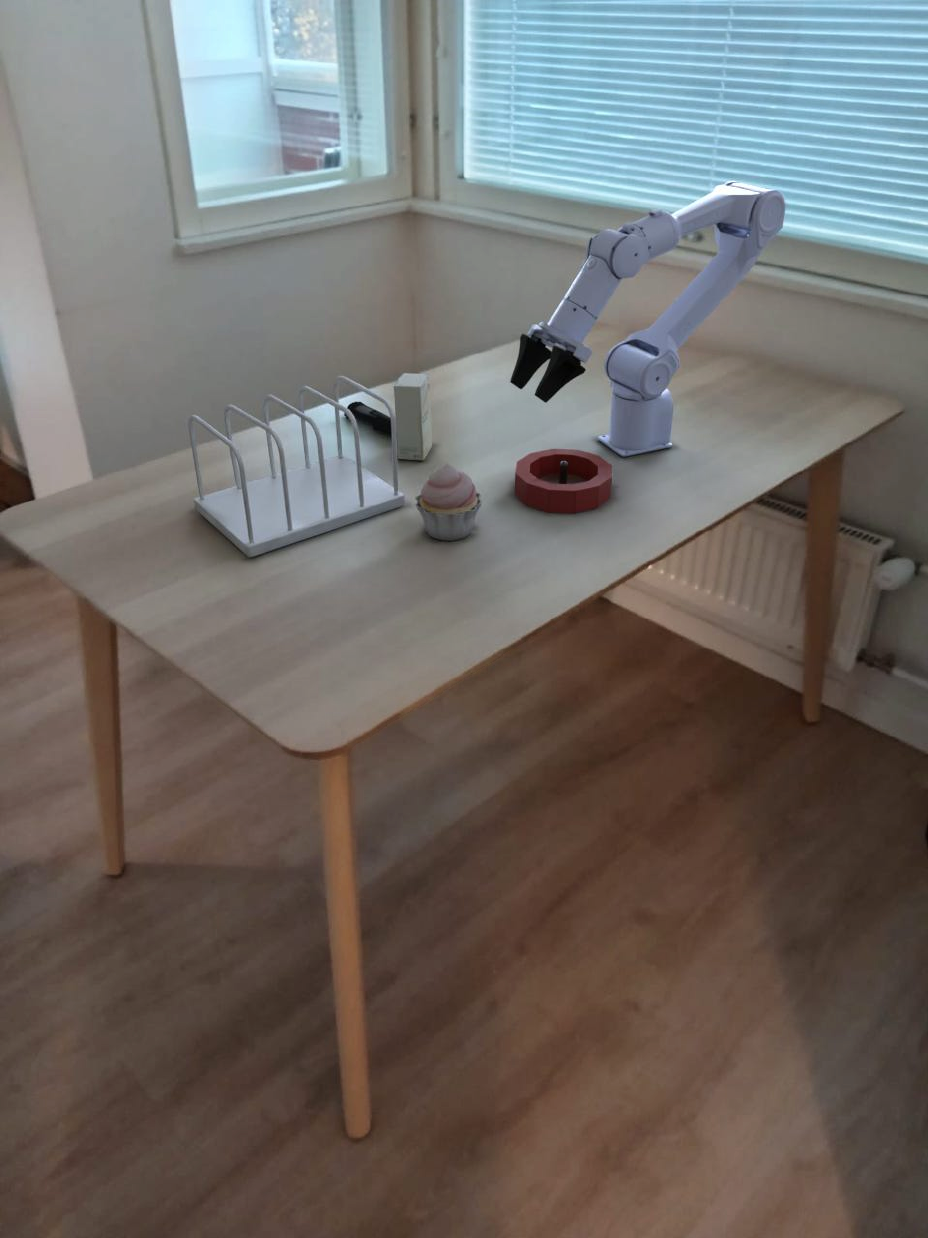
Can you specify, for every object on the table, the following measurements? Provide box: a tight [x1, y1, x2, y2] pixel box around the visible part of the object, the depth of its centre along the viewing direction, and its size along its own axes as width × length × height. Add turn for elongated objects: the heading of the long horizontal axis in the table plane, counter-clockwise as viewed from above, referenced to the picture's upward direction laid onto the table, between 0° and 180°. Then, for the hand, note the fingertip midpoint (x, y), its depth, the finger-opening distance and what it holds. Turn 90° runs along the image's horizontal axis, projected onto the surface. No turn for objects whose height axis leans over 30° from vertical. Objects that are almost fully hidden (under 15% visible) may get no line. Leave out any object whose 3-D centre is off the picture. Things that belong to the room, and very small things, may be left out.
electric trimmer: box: [343, 401, 397, 437], centre depth 161 cm, size 4×16×3 cm, turn 42°
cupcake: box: [414, 462, 483, 542], centre depth 129 cm, size 9×9×10 cm
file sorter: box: [187, 375, 406, 558], centre depth 133 cm, size 25×17×16 cm
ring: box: [514, 448, 613, 514], centre depth 140 cm, size 14×14×4 cm
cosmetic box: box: [393, 372, 433, 461], centre depth 150 cm, size 6×4×12 cm
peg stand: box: [539, 461, 587, 485], centre depth 140 cm, size 8×8×5 cm
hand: (527, 392), depth 139 cm, fingers open, 7 cm apart
